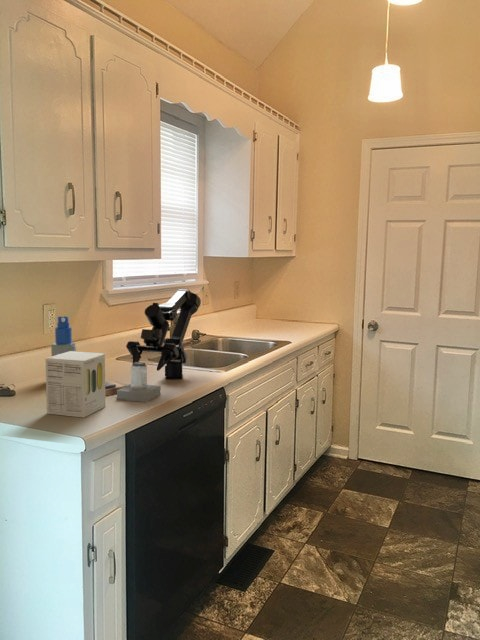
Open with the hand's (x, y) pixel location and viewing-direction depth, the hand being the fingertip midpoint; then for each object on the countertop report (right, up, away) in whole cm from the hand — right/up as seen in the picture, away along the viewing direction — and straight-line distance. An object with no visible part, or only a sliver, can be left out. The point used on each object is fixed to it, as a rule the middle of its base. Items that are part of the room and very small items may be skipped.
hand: (145, 369), depth 189 cm
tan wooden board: (-13, -8, +3) cm, 16 cm away
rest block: (-1, -9, -4) cm, 10 cm away
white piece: (-1, -6, -4) cm, 8 cm away
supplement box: (-18, -11, -21) cm, 30 cm away
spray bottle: (-34, -6, +18) cm, 39 cm away
